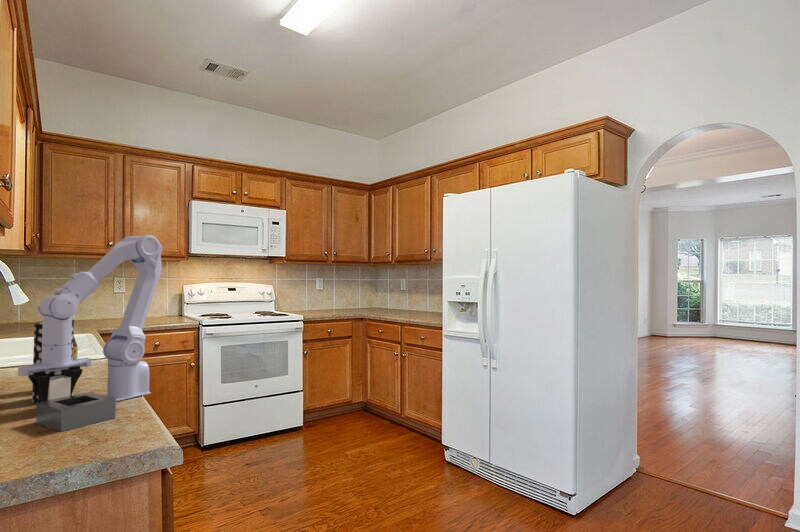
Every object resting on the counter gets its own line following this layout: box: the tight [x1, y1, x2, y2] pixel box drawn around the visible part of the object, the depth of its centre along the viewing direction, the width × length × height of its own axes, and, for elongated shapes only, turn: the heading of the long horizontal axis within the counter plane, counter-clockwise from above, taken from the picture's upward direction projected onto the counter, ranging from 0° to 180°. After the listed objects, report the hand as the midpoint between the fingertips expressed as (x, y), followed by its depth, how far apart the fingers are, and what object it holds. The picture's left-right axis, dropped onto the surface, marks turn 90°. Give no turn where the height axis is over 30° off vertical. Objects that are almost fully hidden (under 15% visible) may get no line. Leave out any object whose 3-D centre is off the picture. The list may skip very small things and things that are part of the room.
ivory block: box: [48, 375, 71, 400], centre depth 111 cm, size 4×4×8 cm
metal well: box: [35, 391, 117, 433], centre depth 104 cm, size 11×11×4 cm
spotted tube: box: [31, 321, 75, 404], centre depth 122 cm, size 8×8×20 cm
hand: (55, 401), depth 111 cm, fingers closed on ivory block, 4 cm apart
